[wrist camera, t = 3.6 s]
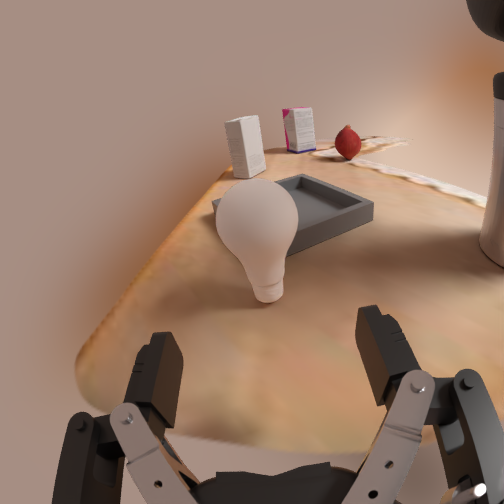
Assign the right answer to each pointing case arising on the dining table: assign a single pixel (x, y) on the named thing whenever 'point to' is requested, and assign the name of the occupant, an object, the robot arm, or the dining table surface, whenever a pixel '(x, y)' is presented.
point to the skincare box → (245, 146)
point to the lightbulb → (259, 232)
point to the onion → (348, 143)
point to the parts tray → (321, 210)
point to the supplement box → (299, 129)
